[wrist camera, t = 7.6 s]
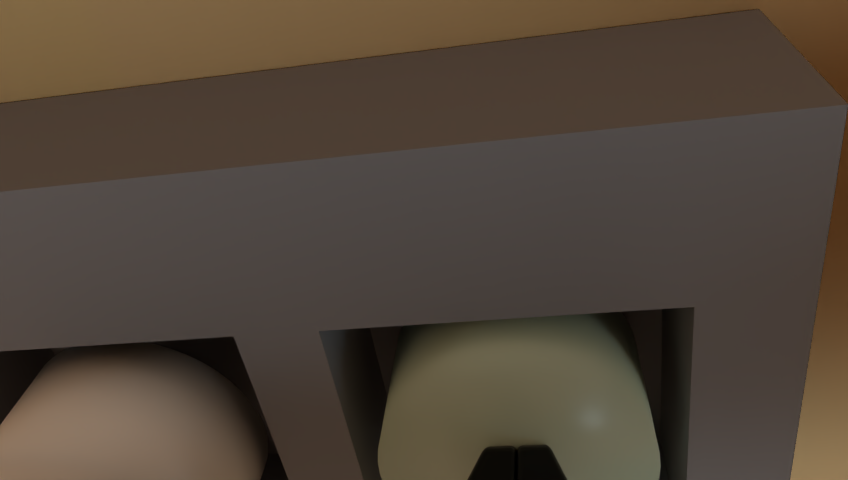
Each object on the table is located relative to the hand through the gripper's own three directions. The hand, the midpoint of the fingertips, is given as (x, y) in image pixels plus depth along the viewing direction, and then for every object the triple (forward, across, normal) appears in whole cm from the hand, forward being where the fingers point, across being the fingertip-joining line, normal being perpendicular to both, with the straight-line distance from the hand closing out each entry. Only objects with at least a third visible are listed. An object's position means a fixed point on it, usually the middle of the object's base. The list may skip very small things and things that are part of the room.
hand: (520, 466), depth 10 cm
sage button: (+2, 0, 0) cm, 2 cm away
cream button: (+1, +6, 0) cm, 6 cm away
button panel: (+3, +6, 0) cm, 6 cm away
